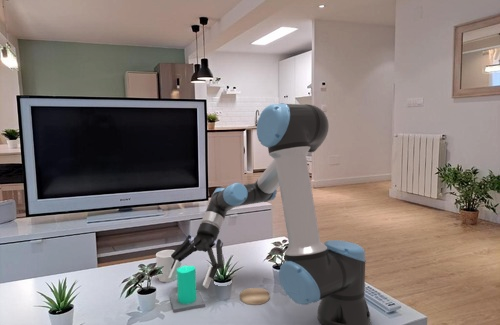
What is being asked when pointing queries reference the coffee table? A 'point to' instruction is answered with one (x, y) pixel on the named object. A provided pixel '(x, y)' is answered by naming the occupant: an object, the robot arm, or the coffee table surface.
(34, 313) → the coffee table surface
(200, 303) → the slate pad
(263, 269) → the coffee table surface
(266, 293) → the cork pad
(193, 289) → the candle
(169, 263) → the white cup
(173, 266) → the robot arm
